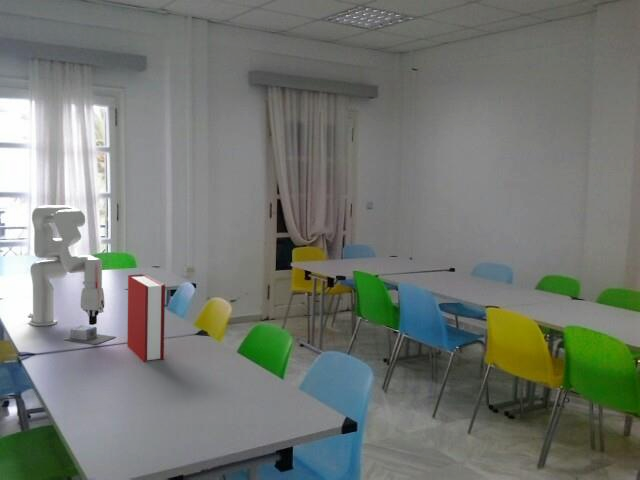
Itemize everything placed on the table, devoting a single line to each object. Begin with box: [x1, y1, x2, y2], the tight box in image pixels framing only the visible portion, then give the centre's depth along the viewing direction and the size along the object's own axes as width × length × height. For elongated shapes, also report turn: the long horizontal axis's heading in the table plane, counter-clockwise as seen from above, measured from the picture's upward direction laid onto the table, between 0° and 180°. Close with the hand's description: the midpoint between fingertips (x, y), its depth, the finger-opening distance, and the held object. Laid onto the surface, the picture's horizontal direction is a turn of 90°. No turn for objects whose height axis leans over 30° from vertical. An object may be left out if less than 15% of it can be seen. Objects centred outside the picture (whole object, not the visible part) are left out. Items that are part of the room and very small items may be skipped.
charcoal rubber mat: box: [64, 333, 117, 346], centre depth 276 cm, size 17×14×1 cm
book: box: [126, 273, 166, 363], centre depth 258 cm, size 27×8×32 cm, turn 33°
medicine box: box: [69, 325, 98, 340], centre depth 277 cm, size 8×4×9 cm
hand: (92, 324), depth 275 cm, fingers closed
